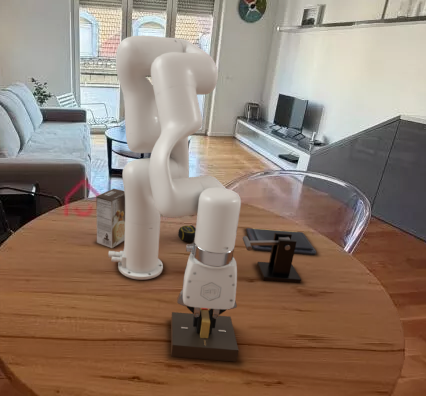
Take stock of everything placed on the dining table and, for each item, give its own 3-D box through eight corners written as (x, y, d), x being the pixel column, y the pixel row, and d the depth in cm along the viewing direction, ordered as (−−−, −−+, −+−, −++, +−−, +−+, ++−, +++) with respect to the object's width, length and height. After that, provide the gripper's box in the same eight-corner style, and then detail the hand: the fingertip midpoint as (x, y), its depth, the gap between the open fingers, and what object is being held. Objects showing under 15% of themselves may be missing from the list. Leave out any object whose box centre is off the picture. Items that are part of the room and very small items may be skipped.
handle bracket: (263, 280, 100) (270, 242, 96) (256, 265, 108) (263, 229, 104) (300, 283, 100) (309, 245, 96) (291, 267, 107) (299, 231, 103)
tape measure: (202, 243, 119) (203, 232, 118) (182, 245, 117) (183, 234, 116) (193, 233, 125) (194, 223, 124) (174, 235, 123) (175, 225, 122)
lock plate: (171, 356, 73) (172, 344, 72) (170, 322, 83) (171, 311, 82) (236, 361, 73) (238, 349, 72) (228, 327, 82) (230, 315, 81)
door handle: (246, 252, 99) (246, 244, 98) (242, 241, 104) (242, 234, 103) (292, 251, 98) (293, 243, 97) (285, 241, 103) (286, 233, 103)
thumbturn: (208, 338, 74) (210, 321, 73) (200, 337, 74) (202, 321, 73) (205, 321, 79) (208, 305, 78) (198, 321, 79) (200, 305, 78)
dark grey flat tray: (253, 244, 115) (246, 224, 130) (252, 250, 116) (245, 229, 130) (318, 251, 114) (304, 229, 128) (317, 256, 114) (303, 234, 128)
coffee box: (113, 232, 123) (114, 187, 117) (129, 237, 120) (130, 192, 114) (96, 243, 116) (95, 195, 110) (112, 249, 113) (113, 200, 107)
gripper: (172, 259, 67) (165, 339, 73) (259, 265, 66) (244, 345, 73) (171, 240, 74) (165, 314, 80) (250, 245, 73) (237, 320, 80)
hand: (203, 328), depth 77 cm, fingers closed on thumbturn
